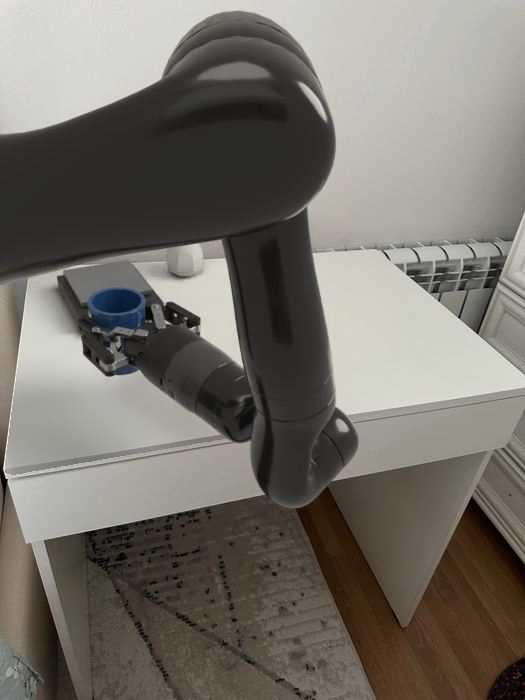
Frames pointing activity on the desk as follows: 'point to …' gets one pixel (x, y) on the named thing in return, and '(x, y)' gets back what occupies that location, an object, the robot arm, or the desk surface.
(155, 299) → the scale
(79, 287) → the scale pan
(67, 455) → the desk surface
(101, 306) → the cup
